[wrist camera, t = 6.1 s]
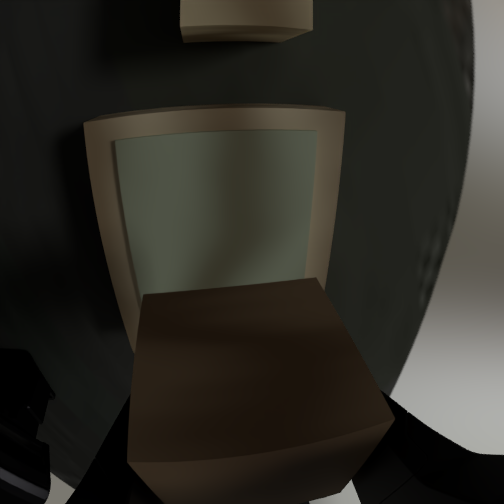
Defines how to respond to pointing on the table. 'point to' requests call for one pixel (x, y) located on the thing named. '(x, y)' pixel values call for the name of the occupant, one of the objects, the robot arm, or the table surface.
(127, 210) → the plinth
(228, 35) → the oak block
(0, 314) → the table surface
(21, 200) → the table surface
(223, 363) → the walnut block
